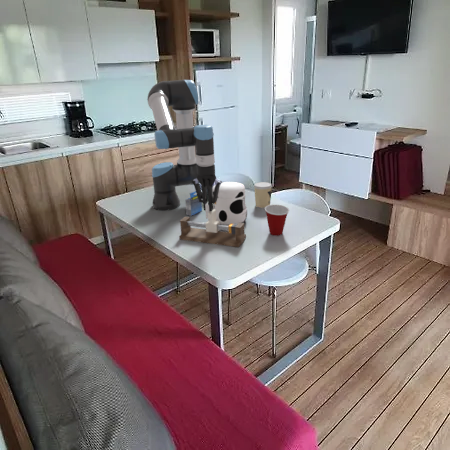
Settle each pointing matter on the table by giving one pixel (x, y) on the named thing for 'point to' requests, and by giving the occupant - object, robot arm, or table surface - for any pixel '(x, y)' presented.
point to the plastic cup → (276, 218)
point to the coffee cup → (262, 194)
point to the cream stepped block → (212, 222)
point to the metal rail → (222, 227)
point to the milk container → (230, 203)
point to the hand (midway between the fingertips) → (208, 217)
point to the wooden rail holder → (212, 235)
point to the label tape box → (193, 204)
